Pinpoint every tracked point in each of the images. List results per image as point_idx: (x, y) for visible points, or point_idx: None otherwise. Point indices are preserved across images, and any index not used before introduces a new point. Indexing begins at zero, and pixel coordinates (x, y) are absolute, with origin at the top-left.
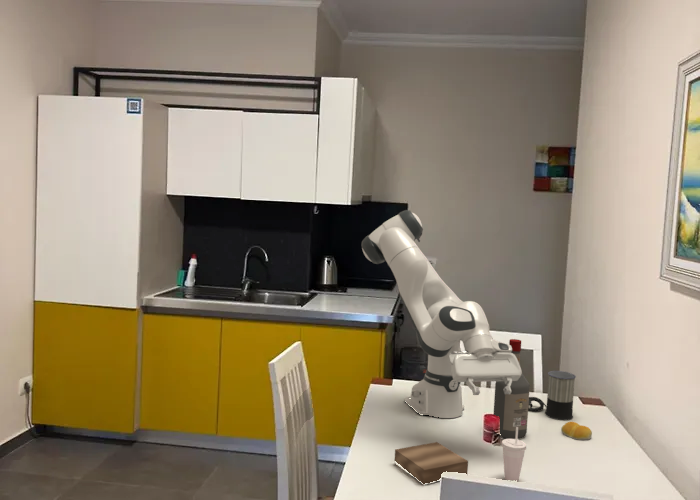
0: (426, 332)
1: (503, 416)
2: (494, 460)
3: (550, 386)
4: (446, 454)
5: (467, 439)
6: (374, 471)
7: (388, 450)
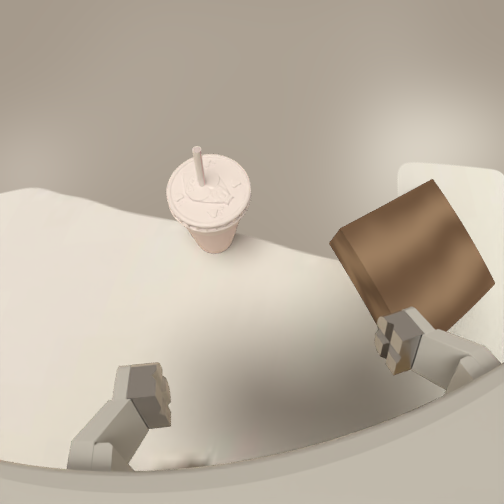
0: None
1: None
2: (233, 351)
3: None
4: (394, 267)
5: None
6: (495, 250)
7: None
